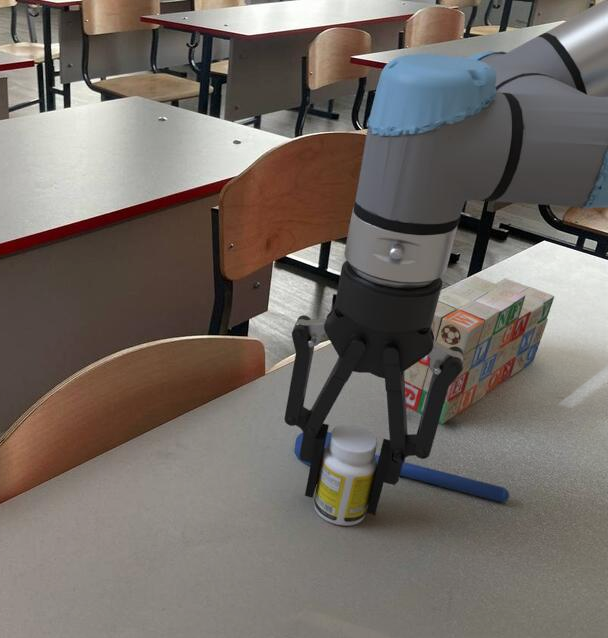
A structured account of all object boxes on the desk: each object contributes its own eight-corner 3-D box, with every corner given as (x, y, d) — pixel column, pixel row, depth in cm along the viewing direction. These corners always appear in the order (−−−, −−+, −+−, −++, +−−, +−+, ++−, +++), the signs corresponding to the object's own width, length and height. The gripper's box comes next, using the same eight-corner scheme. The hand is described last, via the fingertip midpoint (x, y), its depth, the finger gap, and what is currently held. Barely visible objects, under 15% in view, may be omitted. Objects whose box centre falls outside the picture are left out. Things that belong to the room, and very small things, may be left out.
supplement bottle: (365, 497, 72) (382, 426, 68) (365, 532, 68) (383, 459, 64) (314, 487, 73) (328, 416, 69) (310, 520, 69) (325, 448, 65)
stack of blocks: (486, 341, 98) (513, 254, 92) (534, 362, 94) (565, 273, 88) (391, 399, 86) (415, 304, 80) (441, 426, 82) (470, 328, 76)
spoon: (506, 485, 74) (510, 474, 74) (507, 520, 70) (512, 508, 69) (299, 432, 81) (301, 421, 80) (289, 461, 76) (291, 450, 76)
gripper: (267, 265, 58) (236, 494, 70) (521, 313, 53) (442, 554, 64) (287, 230, 64) (256, 446, 76) (516, 270, 59) (445, 497, 70)
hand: (341, 495), depth 70 cm, fingers closed on supplement bottle, 5 cm apart
